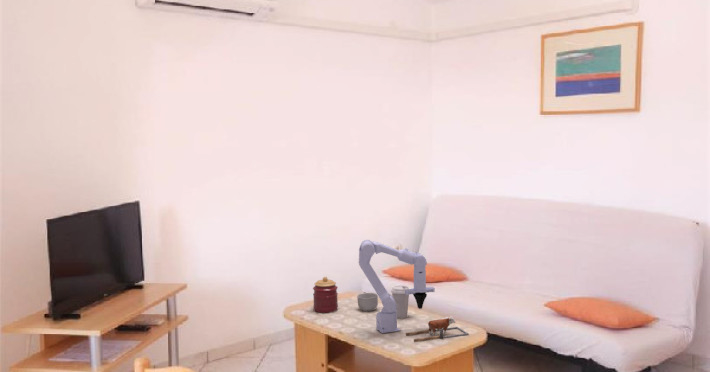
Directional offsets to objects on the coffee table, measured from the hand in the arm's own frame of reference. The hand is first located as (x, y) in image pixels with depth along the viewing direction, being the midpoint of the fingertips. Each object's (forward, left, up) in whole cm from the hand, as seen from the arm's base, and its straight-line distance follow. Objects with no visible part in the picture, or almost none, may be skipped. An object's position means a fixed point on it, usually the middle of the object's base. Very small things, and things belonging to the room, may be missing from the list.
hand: (419, 308), depth 291 cm
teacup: (-12, +40, -10) cm, 43 cm away
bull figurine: (+6, -11, -10) cm, 16 cm away
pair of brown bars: (-4, -11, -10) cm, 15 cm away
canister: (-33, +47, -10) cm, 58 cm away
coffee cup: (-1, +21, -10) cm, 23 cm away
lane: (+10, -11, -10) cm, 18 cm away
